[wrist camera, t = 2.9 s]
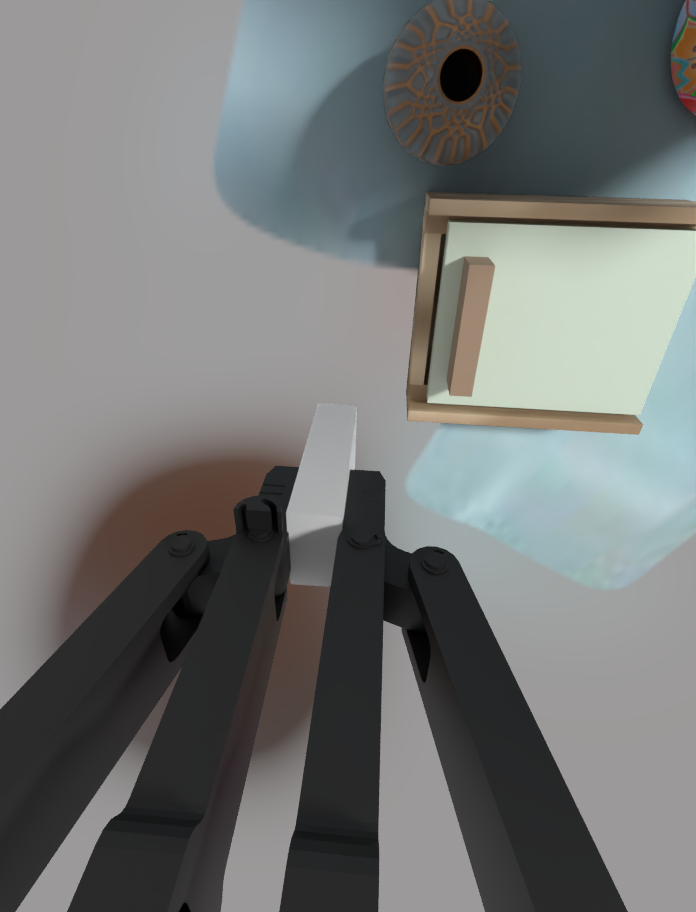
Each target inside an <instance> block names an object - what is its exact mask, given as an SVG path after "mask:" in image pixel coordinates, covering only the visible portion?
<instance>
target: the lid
mask: <svg viewBox="0 0 696 912" xmlns="http://www.w3.org/2000/svg"><path fill="white" fill-rule="evenodd" d="M695 277H696V228H676V227H648V226H620V225H592V224H564V223H536V222H508V221H480V220H451V219H448V225H447V233H446V241H445V249H444V257H443V266H442V274H441V282H440V290H439V298H438V306H437V314H436V322H435V330H434V338H433V346H432V354H431V362H430V371H429V379H428V387H427V395H426V396H427V403H438V404H455V405H473V406H490V407H507V408H525V409H542V410H559V411H576V412H594V413H611V414H628V415H640V414H641V411H642V409H643V406H644V404H645V401H646V399H647V396H648V394H649V391H650V389H651V386H652V384H653V381H654V379H655V376H656V374H657V371H658V369H659V367H660V364H661V362H662V359H663V357H664V354H665V352H666V349H667V347H668V344H669V342H670V339H671V337H672V334H673V332H674V329H675V327H676V324H677V322H678V319H679V317H680V315H681V312H682V310H683V307H684V305H685V302H686V300H687V297H688V295H689V292H690V290H691V287H692V285H693V282H694V280H695Z"/></svg>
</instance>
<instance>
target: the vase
mask: <svg viewBox="0 0 696 912" xmlns="http://www.w3.org/2000/svg"><path fill="white" fill-rule="evenodd" d="M521 75H522V62H521V53H520V47H519V43H518V40H517V37H516V34H515V32H514V30H513V27H512V26H511V24H510V22H509V21H508V19H507V18H506V16H505V15H504V14H503V13H502V12H501V11H500V10H499V9H498V8H497V7H496V6H495V5H494V4H492V3H491V2H489V1H487V0H434V1H432V2H431V3H429V4H427V5H426V6H424V7H423V8H422V9H420V10H419V11H418V12H417V13H416V14H415V15H414V16H413V17H412V18H411V19H410V20H409V21H408V22H407V23H406V25H405V26H404V27H403V29H402V30H401V32H400V33H399V35H398V37H397V38H396V40H395V42H394V44H393V46H392V49H391V51H390V54H389V57H388V60H387V64H386V69H385V74H384V82H383V100H384V108H385V113H386V117H387V120H388V123H389V126H390V128H391V130H392V132H393V134H394V136H395V138H396V139H397V141H398V142H399V143H400V145H401V146H402V147H403V148H404V149H405V150H406V151H407V152H408V153H409V154H411V155H412V156H413V157H415V158H417V159H418V160H421V161H423V162H425V163H429V164H433V165H441V166H443V165H454V164H458V163H462V162H465V161H467V160H469V159H471V158H473V157H475V156H477V155H478V154H480V153H481V152H483V151H484V150H485V149H486V148H487V147H489V146H490V145H491V144H492V143H493V142H494V140H495V139H496V138H497V137H498V136H499V134H500V133H501V132H502V130H503V129H504V127H505V126H506V124H507V122H508V120H509V119H510V117H511V115H512V112H513V110H514V107H515V105H516V102H517V98H518V95H519V90H520V85H521Z"/></svg>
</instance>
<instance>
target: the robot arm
mask: <svg viewBox="0 0 696 912" xmlns="http://www.w3.org/2000/svg"><path fill="white" fill-rule="evenodd" d="M356 423H357V405H344V404H325V403H318V406H317V409H316V412H315V415H314V419H313V422H312V426H311V429H310V433H309V436H308V440H307V443H306V446H305V450H304V453H303V457H302V460H301V463H300V467H286V466H275V467H274V468H273V469H272V470H271V471H270V472H269V473H267V474H266V477H265V480H264V482H263V486H262V487H261V490H260V494H259V495H258V496H253V497H249V498H246V499H244V500H242V501H241V502H239V503H238V504H237V505H236V506H235V508H234V516H235V524H236V531H237V532H236V534H235V535H233V536H231V537H228V538H224V539H219V540H213V541H207V540H206V538H205V537H204V535H203V534H201V533H199V532H197V531H190V530H185V531H178V532H175V533H173V534H170V535H168V536H167V537H166V538H164V539H163V540H162V541H161V542H160V543H159V544H158V545H157V546H156V547H155V548H154V549H153V550H152V551H151V552H150V553H149V554H148V555H147V556H146V557H145V558H144V559H143V560H142V561H141V562H140V564H139V565H138V566H137V567H136V568H135V569H134V570H133V571H132V572H131V573H130V574H129V575H128V576H127V577H126V578H125V579H124V580H123V582H122V583H120V585H119V586H118V587H117V588H116V589H115V590H114V591H113V592H112V593H111V594H110V595H109V596H108V597H107V598H106V599H105V600H104V601H103V602H102V603H101V604H100V606H99V607H98V608H97V609H96V610H95V611H94V612H93V613H92V614H91V615H90V616H89V617H88V618H87V619H86V620H85V621H84V622H83V623H82V624H81V625H80V626H79V627H78V629H77V630H76V631H75V632H74V633H73V634H72V635H71V636H70V637H69V638H68V639H67V640H66V641H65V642H64V643H63V644H62V645H61V646H60V647H59V649H58V650H57V651H56V652H55V653H54V654H53V655H52V656H51V657H50V658H49V659H48V660H47V661H46V662H45V663H44V664H43V665H42V666H41V667H40V669H39V670H37V672H36V673H35V674H34V675H33V676H32V677H31V678H30V679H29V680H28V681H27V682H26V683H25V684H24V685H23V686H22V687H21V688H20V690H19V691H17V693H16V694H15V695H14V696H13V697H12V698H11V699H10V700H9V701H8V702H7V703H6V704H5V705H4V706H3V707H2V708H1V709H0V912H15V911H16V910H17V908H18V907H19V905H20V904H21V902H22V901H23V900H24V898H25V896H26V895H27V894H28V892H29V891H30V889H31V888H32V886H33V885H34V883H35V882H36V880H37V879H38V878H39V876H40V875H41V873H42V872H43V870H44V869H45V867H46V866H47V864H48V863H49V861H50V860H51V858H52V857H53V856H54V854H55V852H56V851H57V850H58V848H59V847H60V845H61V844H62V842H63V841H64V839H65V838H66V836H67V835H68V833H69V832H70V830H71V829H72V828H73V826H74V824H75V823H76V822H77V820H78V819H79V817H80V816H81V814H82V812H83V811H84V810H85V808H86V807H87V806H88V804H89V803H90V801H91V799H92V798H93V797H94V795H95V794H96V792H97V791H98V789H99V788H100V786H101V785H102V784H103V782H104V781H105V779H106V777H107V776H108V775H109V773H110V772H111V770H112V769H113V767H114V766H115V764H116V763H117V761H118V760H119V759H120V757H121V756H122V754H123V753H124V751H125V750H126V748H127V747H128V745H129V744H130V742H131V741H132V739H133V738H134V737H135V735H136V734H137V732H138V731H139V729H140V728H141V726H142V725H143V723H144V722H145V720H146V719H147V717H148V716H149V714H150V713H151V712H152V710H153V709H154V707H155V706H156V704H157V703H158V701H159V700H160V698H161V697H162V695H163V694H164V692H165V691H166V689H167V688H168V686H169V685H170V684H171V682H172V681H173V679H174V678H175V676H176V675H177V673H178V672H179V670H180V669H181V667H182V669H181V672H180V674H179V676H178V679H177V681H176V684H175V686H174V689H173V691H172V694H171V696H170V699H169V701H168V704H167V706H166V709H165V711H164V714H163V716H162V719H161V721H160V724H159V726H158V729H157V731H156V734H155V736H154V739H153V742H152V744H151V746H150V749H149V751H148V754H147V756H146V759H145V761H144V764H143V766H142V769H141V771H140V773H139V776H138V778H137V781H136V783H135V786H134V788H133V791H132V793H131V796H130V799H129V800H128V803H127V805H126V807H125V808H124V809H123V811H122V812H121V813H120V814H118V815H117V816H115V817H114V818H112V819H111V820H110V821H109V822H108V824H107V825H106V827H105V828H104V829H103V831H102V833H101V835H100V837H99V839H98V841H97V843H96V845H95V847H94V850H93V852H92V854H91V857H90V859H89V861H88V864H87V866H86V869H85V871H84V873H83V876H82V878H81V880H80V883H79V885H78V887H77V890H76V892H75V895H74V897H73V899H72V902H71V904H70V906H69V909H68V911H67V912H220V911H221V903H222V891H223V880H224V873H225V868H226V863H227V859H228V855H229V850H230V846H231V841H232V837H233V833H234V829H235V824H236V820H237V816H238V811H239V807H240V802H241V798H242V794H243V790H244V785H245V781H246V777H247V772H248V768H249V763H250V759H251V755H252V750H253V746H254V742H255V737H256V733H257V728H258V724H259V720H260V716H261V710H262V707H263V703H264V698H265V694H266V689H267V685H268V681H269V676H270V672H271V667H272V663H273V659H274V655H275V650H276V646H277V641H278V637H279V633H280V628H281V624H282V619H283V616H284V611H285V607H286V602H287V583H288V579H289V575H290V584H299V585H312V586H326V587H330V594H329V601H328V608H327V615H326V622H325V630H324V636H323V643H322V649H321V657H320V664H319V670H318V677H317V684H316V691H315V698H314V705H313V712H312V718H311V725H310V732H309V739H308V746H307V753H306V760H305V767H304V773H303V780H302V787H301V794H300V801H299V808H298V815H297V821H296V826H295V831H294V833H293V836H292V839H291V843H290V847H289V853H288V859H287V865H286V871H285V878H284V885H283V892H282V898H281V905H280V911H279V912H378V897H379V842H378V817H379V775H380V774H379V773H380V772H379V771H380V732H381V691H382V649H383V620H384V621H387V622H389V623H392V624H395V625H397V626H400V627H402V633H403V637H404V640H405V644H406V647H407V650H408V654H409V657H410V660H411V664H412V667H413V671H414V674H415V677H416V681H417V684H418V687H419V691H420V694H421V697H422V701H423V704H424V707H425V711H426V714H427V717H428V721H429V724H430V728H431V731H432V734H433V738H434V741H435V745H436V748H437V751H438V755H439V758H440V761H441V765H442V768H443V771H444V775H445V778H446V781H447V785H448V788H449V791H450V795H451V798H452V802H453V805H454V808H455V812H456V815H457V818H458V822H459V825H460V829H461V832H462V835H463V839H464V842H465V845H466V849H467V852H468V855H469V859H470V862H471V865H472V869H473V872H474V876H475V879H476V882H477V885H478V889H479V892H480V896H481V899H482V903H483V906H484V909H485V912H628V911H627V909H626V907H625V905H624V903H623V901H622V899H621V897H620V895H619V893H618V891H617V889H616V887H615V885H614V882H613V880H612V878H611V876H610V874H609V872H608V870H607V868H606V866H605V864H604V862H603V860H602V858H601V855H600V854H599V852H598V849H597V847H596V845H595V843H594V841H593V839H592V837H591V835H590V833H589V831H588V828H587V827H586V824H585V822H584V820H583V818H582V816H581V814H580V812H579V810H578V808H577V806H576V804H575V802H574V800H573V798H572V795H571V793H570V792H569V789H568V787H567V785H566V783H565V781H564V779H563V777H562V775H561V773H560V770H559V768H558V766H557V764H556V762H555V760H554V758H553V756H552V754H551V752H550V750H549V748H548V746H547V744H546V741H545V740H544V737H543V735H542V733H541V731H540V729H539V727H538V725H537V723H536V721H535V719H534V717H533V715H532V712H531V710H530V708H529V706H528V704H527V702H526V700H525V698H524V696H523V694H522V692H521V690H520V688H519V686H518V684H517V681H516V679H515V677H514V675H513V673H512V671H511V669H510V667H509V665H508V663H507V661H506V659H505V657H504V654H503V652H502V651H501V648H500V646H499V644H498V642H497V640H496V638H495V636H494V634H493V632H492V630H491V628H490V626H489V624H488V621H487V619H486V617H485V615H484V613H483V611H482V609H481V607H480V605H479V603H478V601H477V599H476V597H475V594H474V592H473V590H472V588H471V586H470V584H469V582H468V580H467V578H466V576H465V574H464V572H463V570H462V567H461V565H460V563H459V561H458V560H457V559H456V558H455V556H454V555H453V554H451V553H450V552H448V551H447V550H445V549H442V548H439V547H428V546H427V547H423V548H419V549H418V550H416V551H415V552H413V553H408V552H405V551H403V550H400V549H398V548H396V547H395V546H393V545H392V544H391V543H390V542H389V541H388V540H387V538H386V536H385V531H384V526H385V479H384V478H383V476H382V475H381V473H380V472H379V471H364V470H354V468H355V451H356V448H355V447H356Z"/></svg>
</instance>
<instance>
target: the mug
mask: <svg viewBox="0 0 696 912" xmlns="http://www.w3.org/2000/svg"><path fill="white" fill-rule="evenodd" d="M671 73H672V79H673V83H674V87H675V89H676V92H677V94H678V96H679V98H680V100H681V101H682V103H683V104H684V105H685V107H686V108H687V109H688V110H689V111H690V112H691V113H693V114H694V115H695V116H696V0H685V2H684V4H683V7H682V9H681V12H680V15H679V17H678V20H677V24H676V27H675V31H674V35H673V40H672V48H671Z"/></svg>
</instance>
